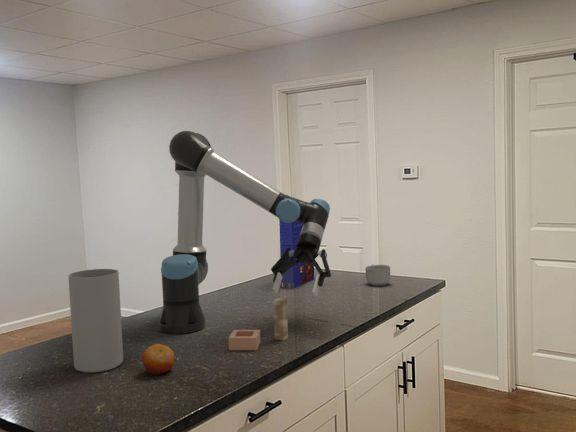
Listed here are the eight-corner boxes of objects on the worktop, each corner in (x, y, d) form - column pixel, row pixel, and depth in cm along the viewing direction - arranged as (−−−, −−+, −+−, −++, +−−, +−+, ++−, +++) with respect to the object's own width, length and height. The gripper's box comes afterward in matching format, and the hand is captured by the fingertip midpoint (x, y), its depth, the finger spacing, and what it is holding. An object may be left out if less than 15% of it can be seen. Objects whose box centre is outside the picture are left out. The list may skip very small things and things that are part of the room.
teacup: (392, 286, 233) (392, 268, 232) (367, 287, 233) (366, 269, 232) (387, 280, 247) (386, 262, 246) (363, 281, 247) (362, 263, 246)
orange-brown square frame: (228, 350, 156) (228, 337, 155) (234, 341, 164) (233, 329, 163) (256, 350, 155) (256, 337, 155) (260, 341, 163) (260, 329, 163)
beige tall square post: (274, 339, 165) (273, 300, 164) (279, 336, 167) (277, 298, 166) (283, 340, 163) (282, 300, 162) (288, 337, 166) (286, 298, 165)
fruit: (159, 357, 147) (167, 335, 143) (174, 378, 142) (182, 356, 139) (132, 365, 141) (139, 343, 138) (146, 387, 137) (154, 365, 133)
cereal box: (302, 278, 257) (301, 214, 254) (314, 279, 254) (312, 215, 252) (281, 287, 237) (279, 219, 235) (293, 288, 235) (291, 219, 232)
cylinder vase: (75, 376, 138) (69, 279, 136) (73, 361, 150) (67, 271, 148) (126, 368, 143) (121, 274, 141) (120, 354, 155) (115, 267, 153)
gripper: (348, 246, 181) (335, 301, 169) (280, 244, 191) (262, 296, 179) (343, 232, 176) (328, 288, 163) (273, 231, 186) (254, 284, 174)
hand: (294, 293), depth 171 cm, fingers open, 13 cm apart
